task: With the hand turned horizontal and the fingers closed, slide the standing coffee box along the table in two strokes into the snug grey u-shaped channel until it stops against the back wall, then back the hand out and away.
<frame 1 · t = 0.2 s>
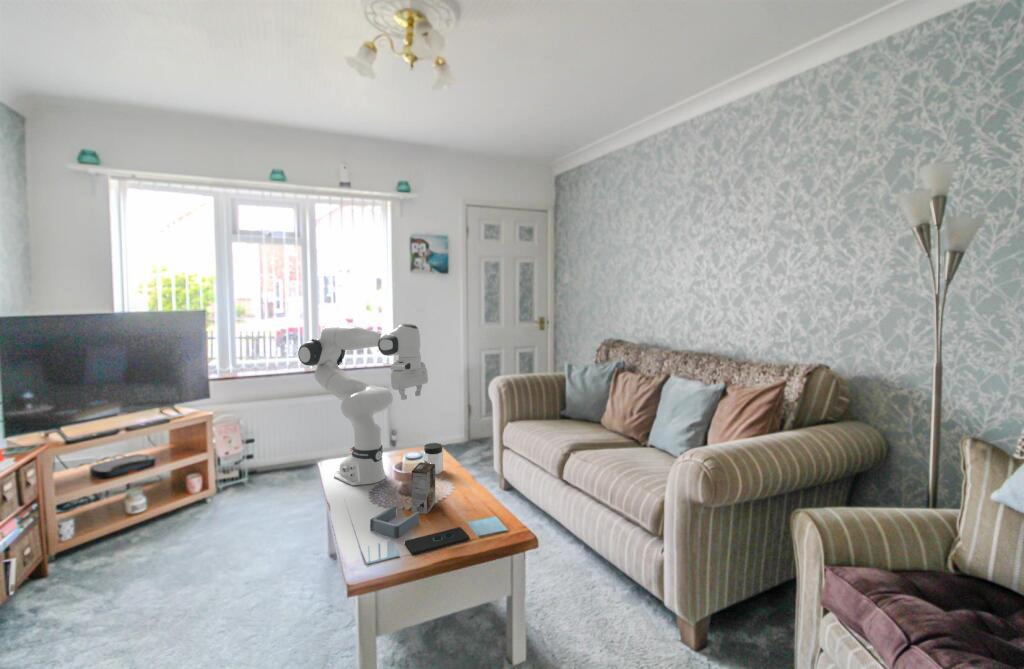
hand: (411, 397, 197), 39 cm above the table, tool pointing down, fingers open, 8 cm apart
grey u-shaped channel: (396, 526, 170), on the table
jar: (433, 471, 221), on the table
coffee box: (423, 508, 184), on the table
smart home device: (437, 544, 160), on the table
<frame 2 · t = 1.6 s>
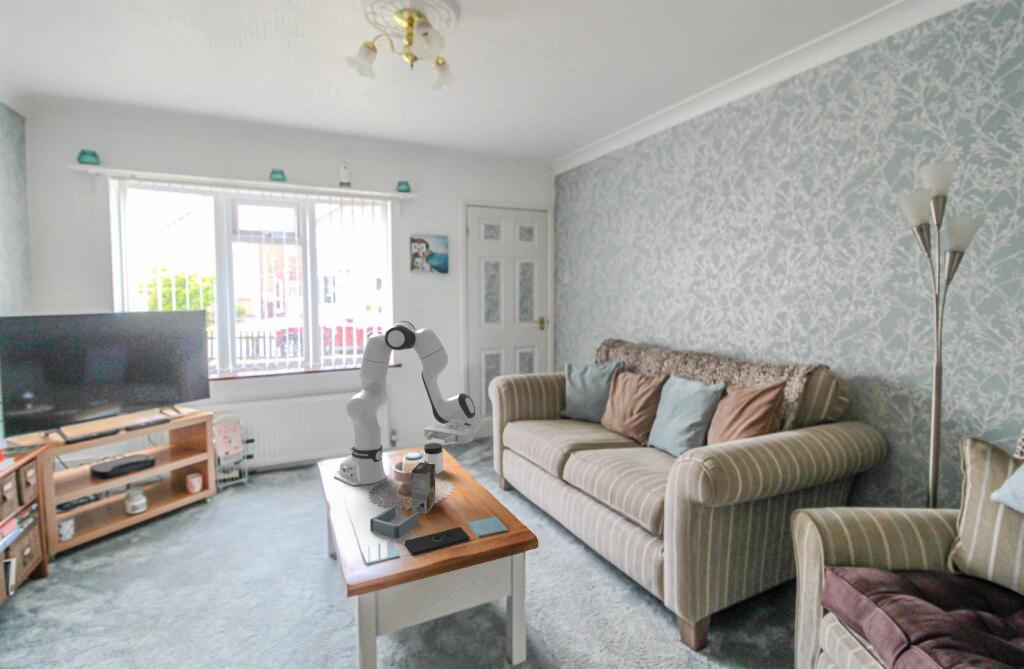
hand: (436, 439, 190), 24 cm above the table, tool horizontal, fingers open, 7 cm apart
nothing on the table moved.
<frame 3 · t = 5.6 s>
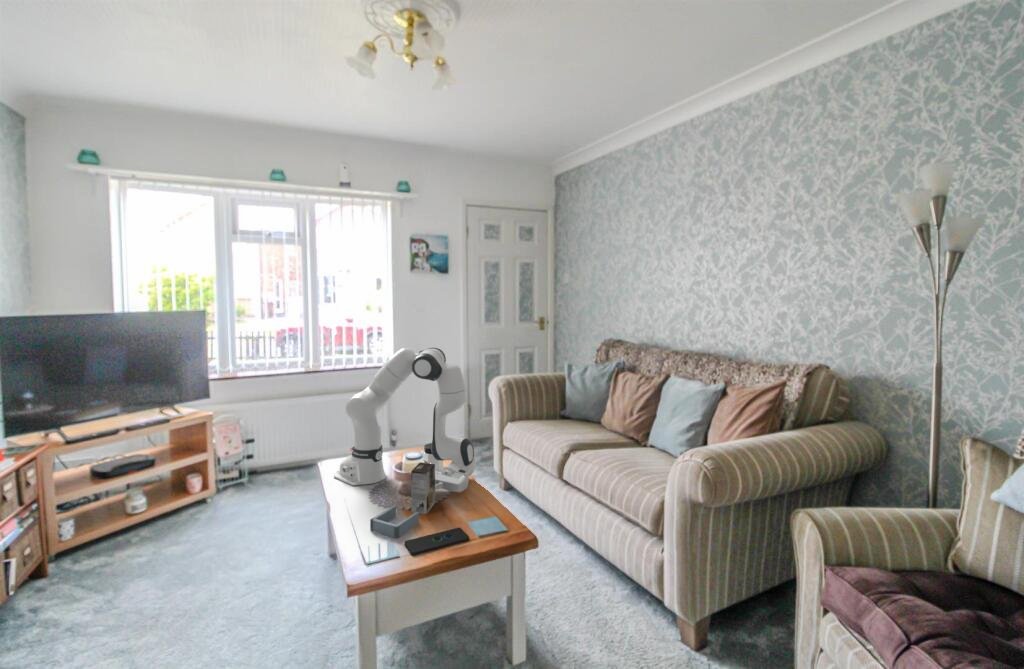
hand: (431, 488, 188), 6 cm above the table, tool horizontal, fingers closed
coffee box: (423, 508, 184), on the table, touching gripper
everything else where it was.
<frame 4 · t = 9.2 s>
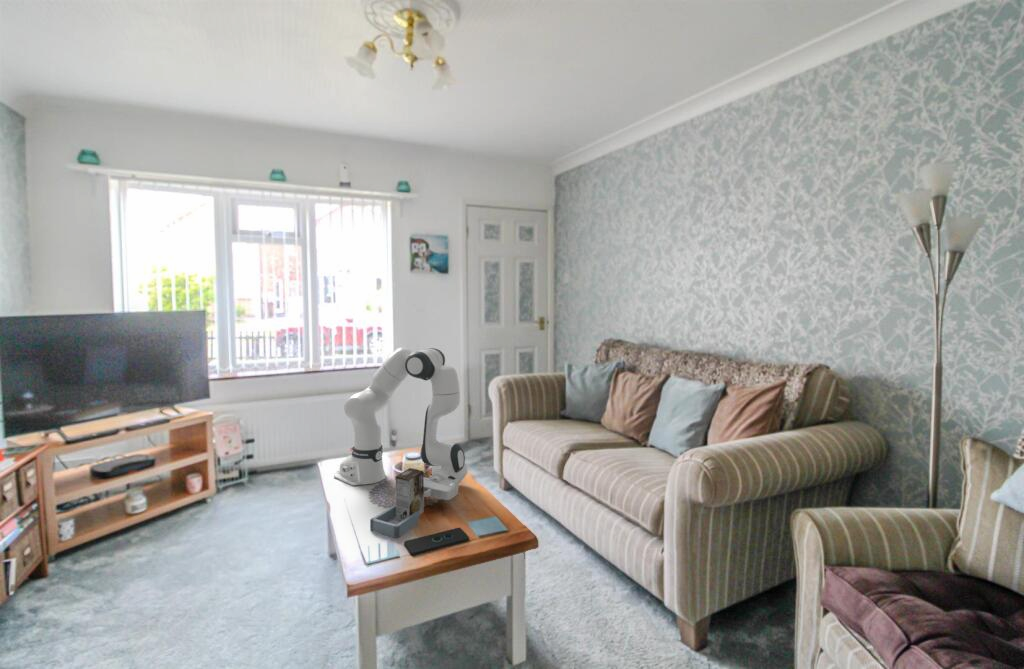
hand: (418, 495, 181), 6 cm above the table, tool horizontal, fingers closed, pressing on coffee box
coffee box: (409, 516, 178), on the table, touching gripper
everything else where it was.
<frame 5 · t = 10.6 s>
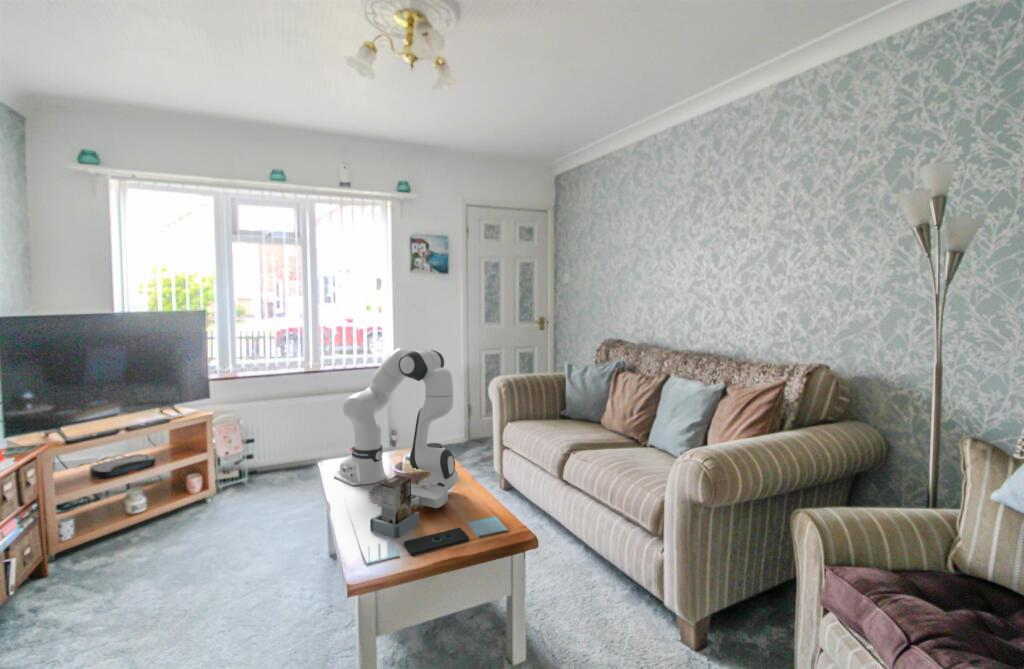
hand: (406, 503, 174), 6 cm above the table, tool horizontal, fingers closed, pressing on coffee box
coffee box: (396, 525, 171), on the table, touching gripper
everything else where it was.
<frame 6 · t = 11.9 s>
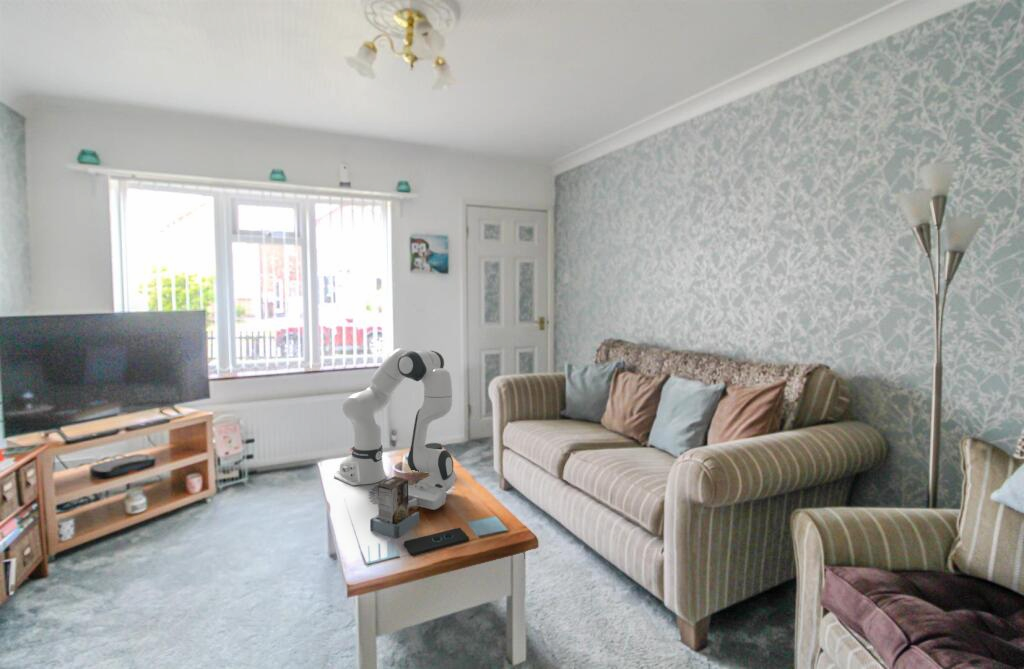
hand: (403, 505, 173), 6 cm above the table, tool horizontal, fingers closed
coffee box: (393, 527, 170), on the table
everything else where it was.
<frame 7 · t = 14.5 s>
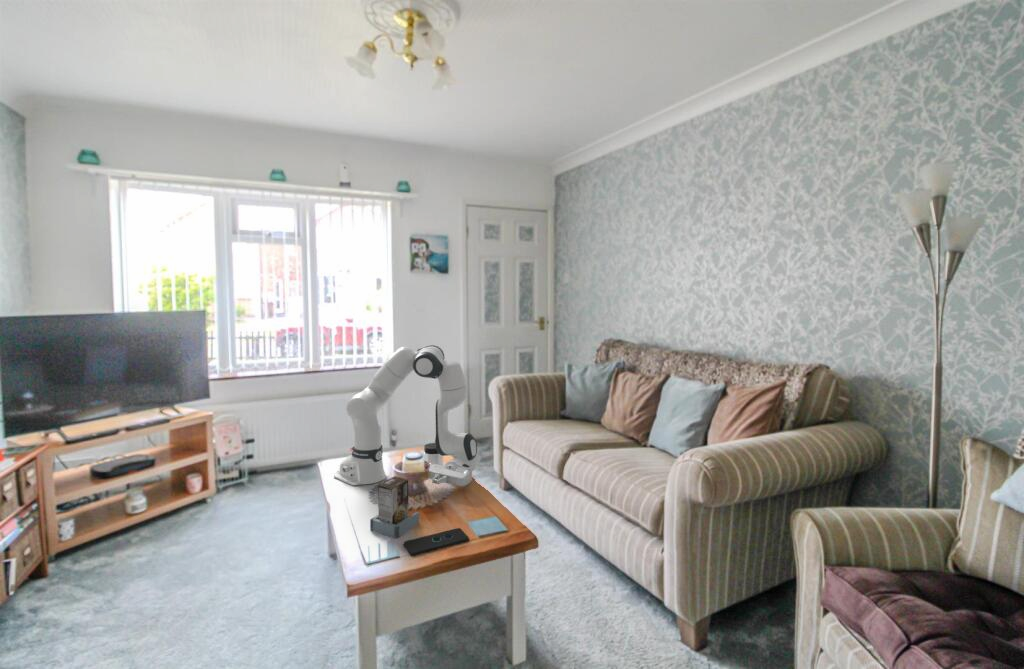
hand: (435, 481, 191), 7 cm above the table, tool horizontal, fingers closed
nothing on the table moved.
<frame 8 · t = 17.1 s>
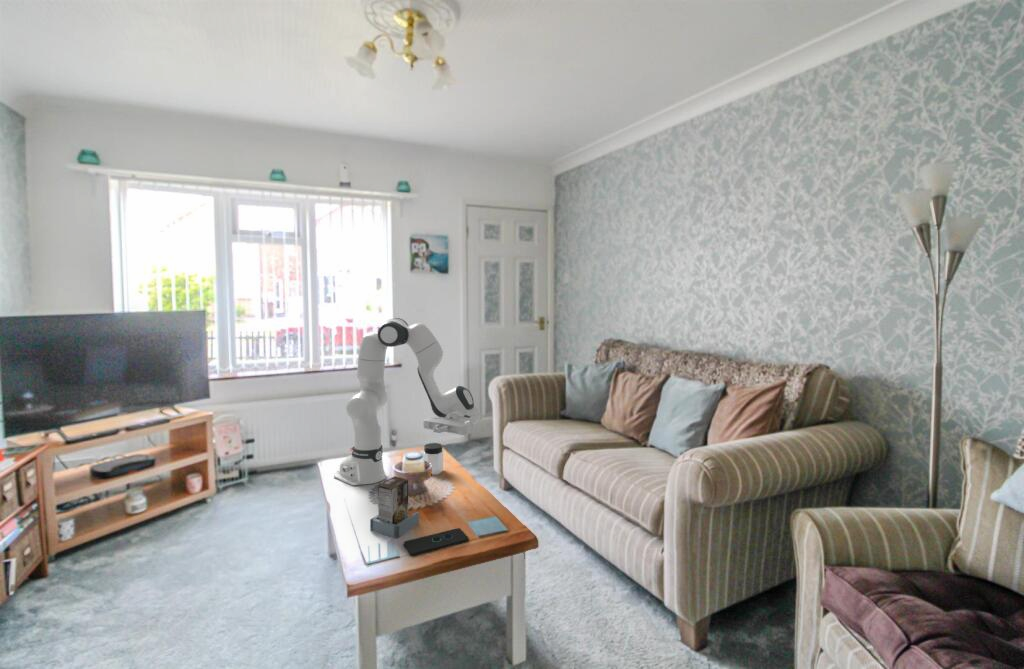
hand: (436, 430, 189), 28 cm above the table, tool horizontal, fingers closed
nothing on the table moved.
at the end: coffee box 0.7 cm from the target spot on the grey u-shaped channel, point 0.0 cm above the grey u-shaped channel's base; coffee box tilted 0°; coffee box moved 16.7 cm from its start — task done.
